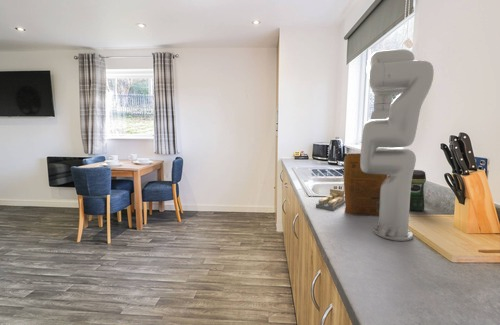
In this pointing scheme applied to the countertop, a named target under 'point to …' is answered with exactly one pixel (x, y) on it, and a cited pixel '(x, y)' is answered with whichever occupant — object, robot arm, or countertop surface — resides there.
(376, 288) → the countertop surface
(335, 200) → the ginger root
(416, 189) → the coffee jar
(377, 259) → the countertop surface
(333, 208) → the board
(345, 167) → the pancake mix bag
